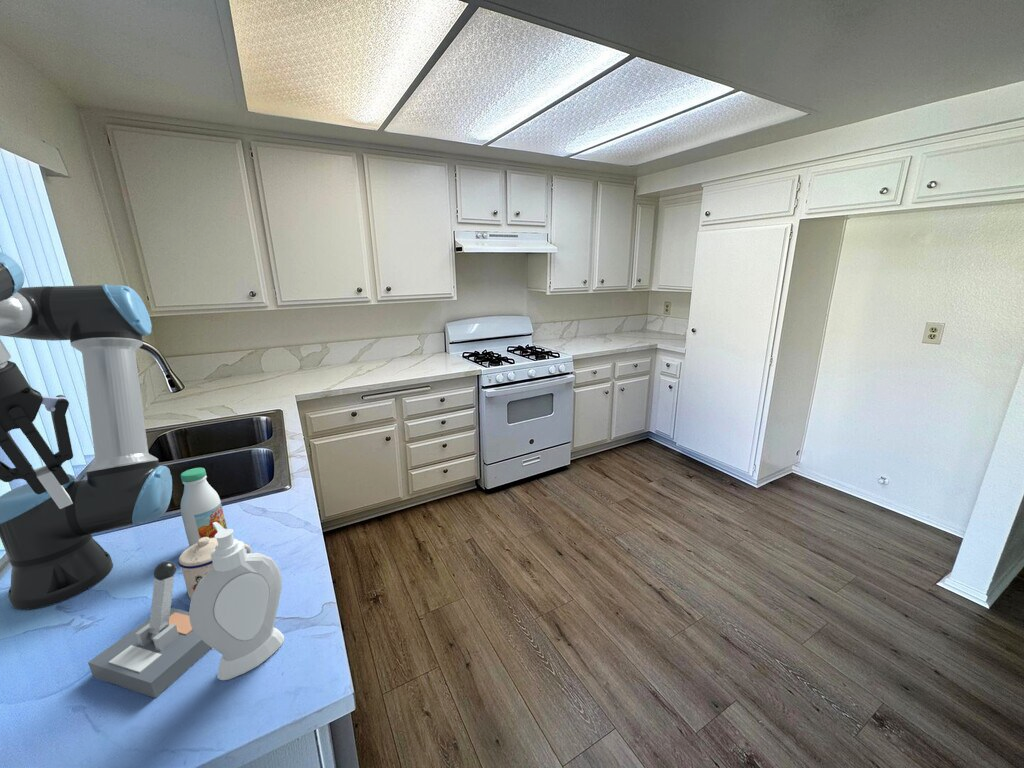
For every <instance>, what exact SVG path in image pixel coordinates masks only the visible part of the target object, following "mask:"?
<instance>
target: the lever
mask: <svg viewBox="0 0 1024 768" xmlns="http://www.w3.org/2000/svg"><path fill="white" fill-rule="evenodd" d="M176 572H177V565H176V564H175V563H174V562H173V561H164V562H161V563H159V564H158V565H157V566H156V567H155V568H154V570H153V577H154V581H153V582H154V583H153V589H152V590H153V592H152V598H151V608H150V617H149V618H150V625H149V633H148V635H147V640H149V641H153V638H154V637H155V636H156V635H158V634H159V633H160V632H162V631H163V630H164V629H166V628H167V627H168V626H169V617H170V608H172V607H171V606H172V597H173V589H174V580H175V574H176ZM153 642H154V641H153Z"/></svg>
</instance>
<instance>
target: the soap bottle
mask: <svg viewBox="0 0 1024 768" xmlns="http://www.w3.org/2000/svg"><path fill="white" fill-rule="evenodd" d="M213 526H214V527H215V528H216V530H217V533H216V534H215V538H216V539H217V542H218V545H216V547H215V549H214V550H213V551H212V553H211V558H212V562H213V566H214V567H213V568H212V569H211V570H210V571H209V572H208V573H207V574H206V575H205V576H204V577H203V578H202V579H201V580H200V581H199V583H198V585H197V587H196V589H195V591H194V593H193V595H192V597H191V599H190V605H189V610H188V612H189V617H190V624H191V627H192V629H193V631H194V632H195V633H196V635H197V636H198V637H199V638H201V639H202V640H203V641H204V642H205V643H206V644H207V645H209V646H210V647H212V648H211V649H214V650H215V651H217V652H218V653H219V654H221V657H220V659H219V665H218V669H217V676H216V677H217V679H218V680H220V681H228V680H231V679H233V678H236V677H238V676H242V675H243V674H245V673H246V674H247V672H249V671H251V670H253V669H254V668H256V667H258V666H260V665H261V664H262V663H264V662H265V661H266V660H267V659H269V658H270V657H271V656H273V654H274V653H275V652H276V651H277V650H279V648H280V647H282V645H283V643H284V642H285V636H284V634H283V633H282V632H281V631H280V629H278V628H276V627H274V625H275V621H276V617H277V613H278V609H279V604H280V599H281V594H282V593H281V592H282V586H283V584H282V583H283V579H282V574H281V571H280V568H279V566H278V565H277V564H276V562H275V560H273V558H272V557H271V556H268V555H265V554H263V553H261V552H253V553H252V552H251V553H247V550H246V549H245V546H244V544H245V542H244V541H242V540H238V539H237V538H234V534H233V533H234V529H233V528H227V529H224V528H223V527H222V526H221V525H220V524H219V523H217V522H214V523H213Z"/></svg>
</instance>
